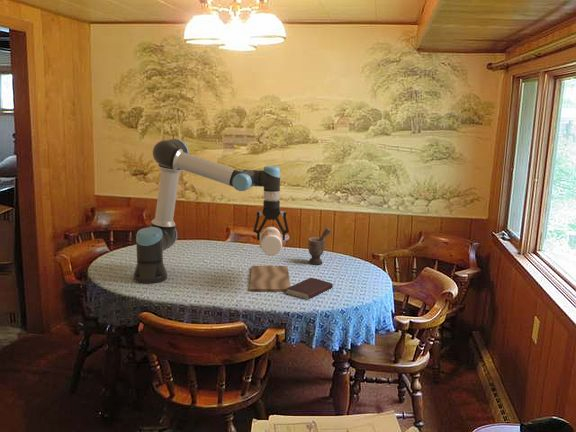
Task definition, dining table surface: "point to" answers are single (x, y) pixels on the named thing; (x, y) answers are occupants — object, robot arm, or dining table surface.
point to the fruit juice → (271, 241)
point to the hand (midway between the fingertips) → (270, 247)
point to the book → (309, 288)
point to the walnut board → (269, 279)
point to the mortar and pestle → (317, 247)
